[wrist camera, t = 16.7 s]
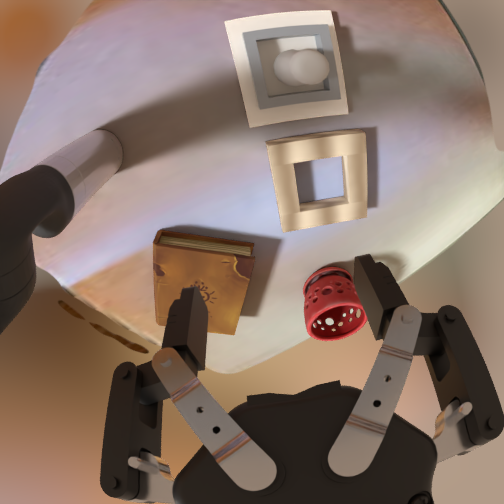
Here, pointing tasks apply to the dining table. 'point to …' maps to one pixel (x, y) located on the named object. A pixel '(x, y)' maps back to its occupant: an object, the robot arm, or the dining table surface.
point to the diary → (202, 275)
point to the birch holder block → (313, 148)
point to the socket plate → (264, 55)
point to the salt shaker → (301, 67)
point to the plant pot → (332, 304)
